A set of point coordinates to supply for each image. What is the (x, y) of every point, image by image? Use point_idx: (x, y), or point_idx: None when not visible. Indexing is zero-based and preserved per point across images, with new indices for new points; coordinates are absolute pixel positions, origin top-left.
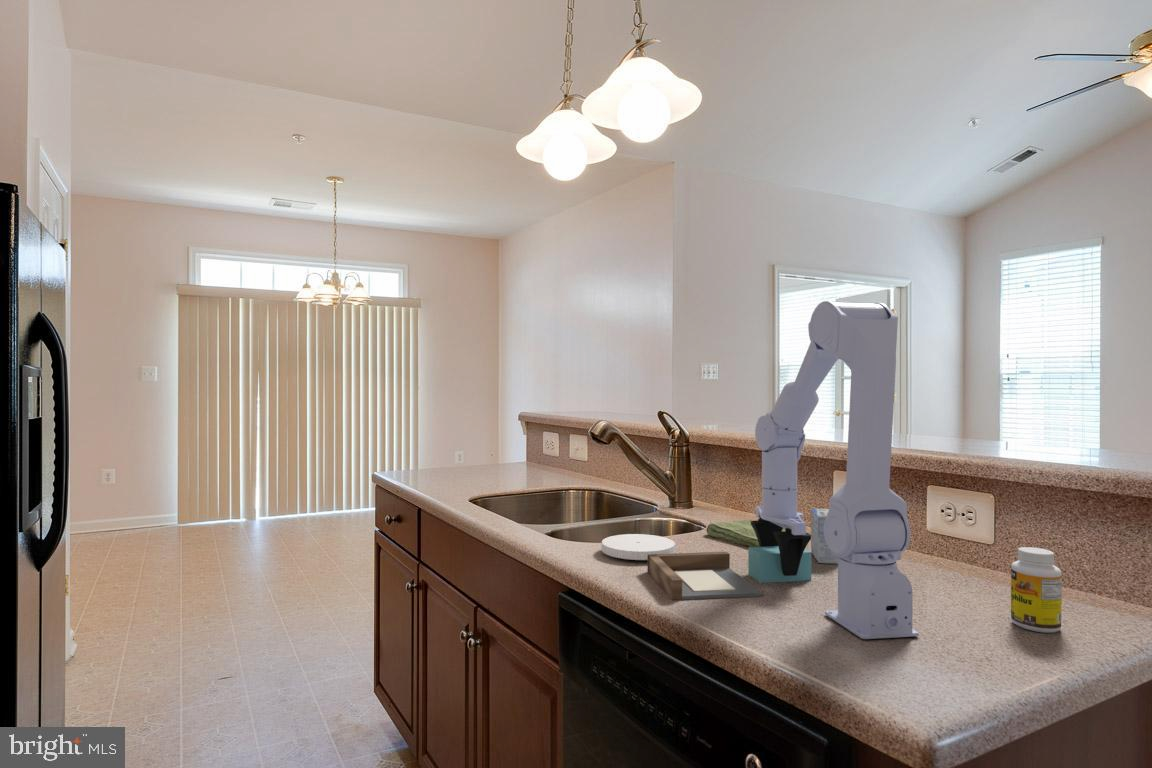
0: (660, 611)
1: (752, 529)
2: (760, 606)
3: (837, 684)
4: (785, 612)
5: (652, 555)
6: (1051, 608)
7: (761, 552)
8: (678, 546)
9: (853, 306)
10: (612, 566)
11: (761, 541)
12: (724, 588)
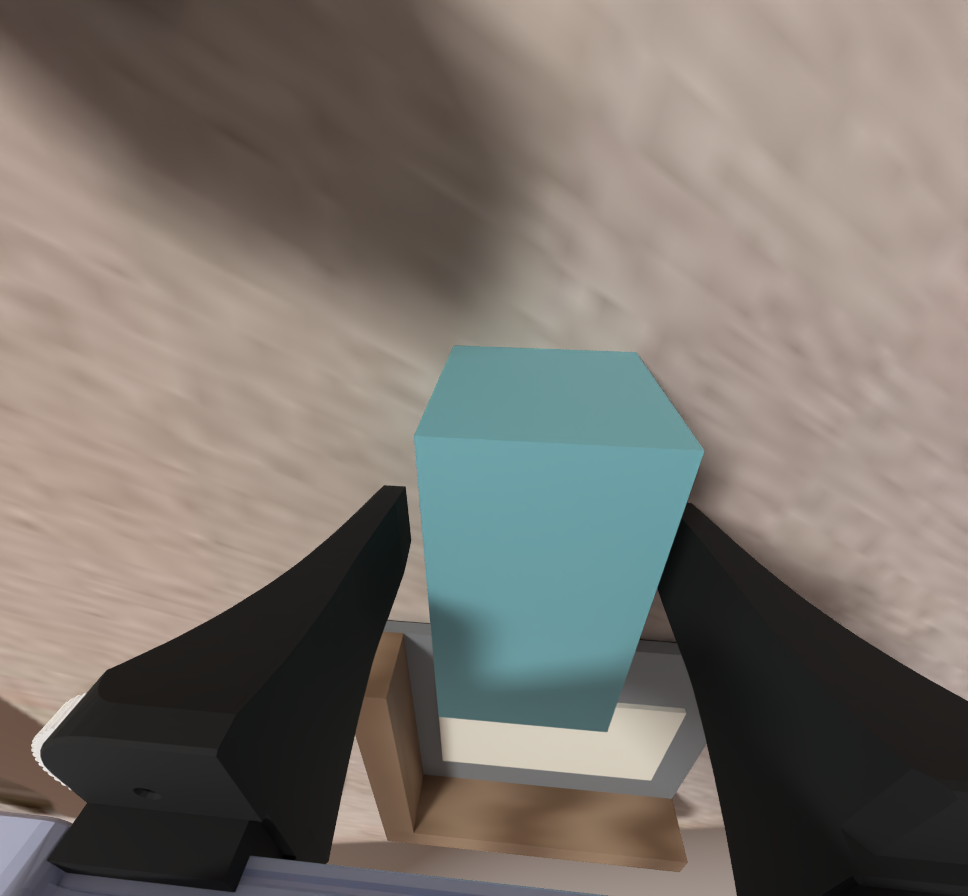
0: (724, 825)
1: None
2: None
3: None
4: (952, 659)
5: (400, 837)
6: None
7: (574, 715)
8: (38, 640)
9: None
10: (345, 801)
11: (367, 671)
12: (666, 731)
